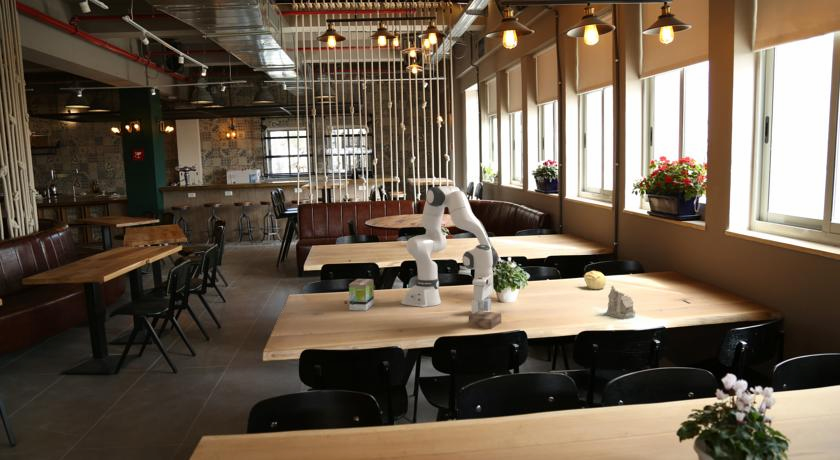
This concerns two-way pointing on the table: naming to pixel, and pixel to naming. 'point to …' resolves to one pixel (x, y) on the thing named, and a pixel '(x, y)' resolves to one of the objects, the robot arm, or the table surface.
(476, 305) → the medicine bottle
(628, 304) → the grey rock
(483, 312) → the walnut block
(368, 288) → the tea box
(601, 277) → the pale yellow lumpy ball
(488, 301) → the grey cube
